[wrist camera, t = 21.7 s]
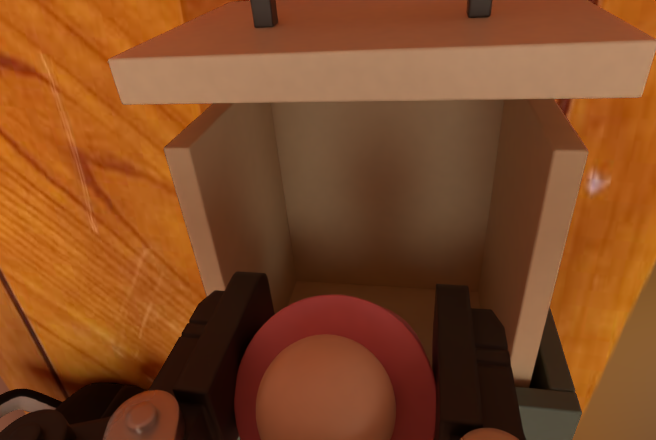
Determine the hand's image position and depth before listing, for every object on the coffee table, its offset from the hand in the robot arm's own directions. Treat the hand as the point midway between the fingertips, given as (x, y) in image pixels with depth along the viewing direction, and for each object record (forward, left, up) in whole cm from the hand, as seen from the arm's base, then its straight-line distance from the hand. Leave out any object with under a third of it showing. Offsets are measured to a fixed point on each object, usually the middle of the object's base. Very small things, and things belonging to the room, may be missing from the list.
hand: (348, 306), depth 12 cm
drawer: (0, -1, -11) cm, 11 cm away
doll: (0, +4, -2) cm, 5 cm away
